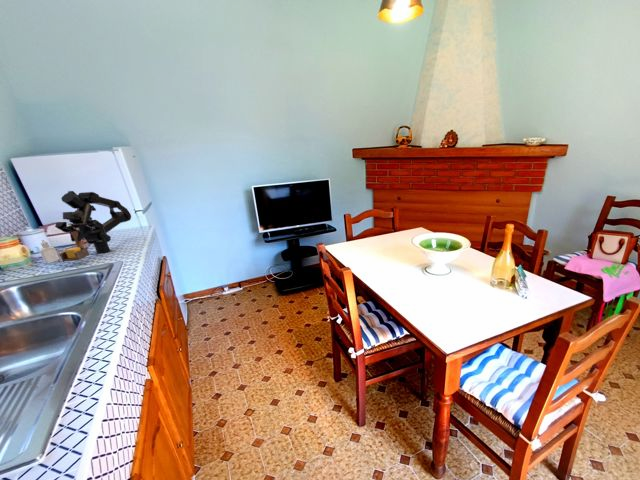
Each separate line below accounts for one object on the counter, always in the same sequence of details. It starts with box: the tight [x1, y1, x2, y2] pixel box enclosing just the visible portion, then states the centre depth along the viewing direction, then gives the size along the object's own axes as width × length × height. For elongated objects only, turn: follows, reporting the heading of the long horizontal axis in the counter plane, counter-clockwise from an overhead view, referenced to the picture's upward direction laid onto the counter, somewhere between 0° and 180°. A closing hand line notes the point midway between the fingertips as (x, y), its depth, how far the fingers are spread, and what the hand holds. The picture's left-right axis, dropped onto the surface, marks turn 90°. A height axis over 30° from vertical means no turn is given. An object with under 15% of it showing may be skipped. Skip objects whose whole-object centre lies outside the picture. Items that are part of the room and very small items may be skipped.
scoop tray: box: [59, 230, 90, 262], centre depth 144 cm, size 10×7×12 cm
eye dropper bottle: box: [38, 239, 61, 264], centre depth 150 cm, size 4×6×12 cm
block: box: [64, 246, 81, 258], centre depth 144 cm, size 4×4×4 cm
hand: (75, 241), depth 145 cm, fingers closed on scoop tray, 2 cm apart
